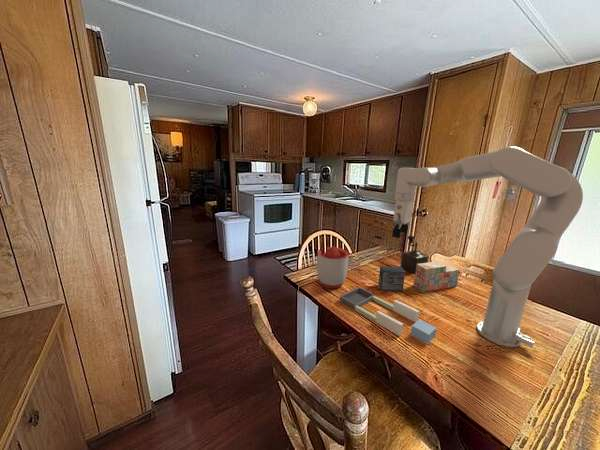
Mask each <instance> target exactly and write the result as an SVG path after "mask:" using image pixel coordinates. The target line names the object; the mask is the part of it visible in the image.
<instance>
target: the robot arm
mask: <svg viewBox="0 0 600 450" xmlns="http://www.w3.org/2000/svg"><path fill="white" fill-rule="evenodd" d="M396 175H397V177H396V186H395V187H396V188H395V194H394V195H395V196H394V200H395V201H396V202H395V207H394V212H393V223H392V225H393V226H392V234H391V237H392V238H397V239H400V238H401V234H408V230H409V223H410V222H411V221H412V213H413V202H414V201H415V200H414V199H415V193H416V192H415V191H416V187H418V188H419V187H421V188H426V187H432V186H438V185H445V184H451V183H458V182H459V183H460V182H461V183H462V182H463V183H464V182H472V181H473V182H474V181H480V180H485V179H493V178H498V177H502V178H503V179H505V180H507V181H508V182H511V183H513V184H515V185H516V186H518V187H520V188H522V189H524V190H526V191H528V192H530V193H532V194H534V195H536V196H537V197H541V198H540V202H539V203H538V205H537V206H536V208H535V210H534V211H533V212H532V215H531V216H530V218H529V219H528V220H527V222H526V223H525V225H524V226H523V227H522V228H521V229H519V231H518V232H517V233H516V234H515V237H514V238H513V239H512V241H511V243H510V244H509V246H508V247H507V248H506V250H505V251H504V252H503V255H502V256H501V257H500V258H499V259H498V260H497V262H496V264H495V266H494V267H493V269H492V276H493V282H492V286H491V290H490V294H489V296H488V301H487V305H486V310H485V313H484V317H483V318H484V319H483V321H479V322H478V323H477V325H476V330H477V332H478V334H480V335H481V336H482V337H483V338H485V339H486V340H488V341H490V342H492V343H493V344H496V345H498V346H502V347H505V348H506V347H507V348H517V347H519V346H521V344H525V345H527V346H528V347H531V348H533V347H534V345H535V341H533V340H531V337H530V336H529V335H526V334H523V333H522V332H521V328H520V325H521V321H522V317H523V314H524V310H525V307H526V304H527V302H528V298H529V294H530V291H531V287H532V284H533V283H534V281H536V279H538V277H539V275H540V274H541V273H542V272H543V270H544V269H546V267H547V266H548V264H549V263H550V261H551V260H552V259H553V258H554V256H555V254H556V253H557V250H558V244H559V241H560V238H562V236H563V235H564V233H565V231H566V230H567V229H568V228H569V226H570V225H571V223H572V222H573V220H574V219H575V217H576V216H577V214H578V213H579V211H580V209H581V207H582V204H583V200H584V199H583V197H584V194H583V193H584V192H583V189H582V186H581V184H580V181H579V180H578V179H577V178H576V177H575V175H574V174H572V173H571V171H569V170H568V169H566V168H564V167H563V166H559V165H556V164H555V163H552V162H551V161H550V162H549V161H548V160H545V159H542V158H541V157H538V156H536V155H534V154H532V153H530V152H528V151H526V150H525V149H523V148H521V147H518V146H505V147H502V148H500V149H498V150H496V151H491V152H485V153H482V154H481V153H480V154H477V155H476V154H475V155H472V156H467V157H463V158H461V159H460V160H458V161H455V162H452V163H447V164H442V165H437V166H433V167H432V166H431V167H418V168H417V167H416V168H415V167H400V168H399V169H398V170H397V174H396Z"/></svg>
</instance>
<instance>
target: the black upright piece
mask: <svg viewBox="0 0 600 450" xmlns="http://www.w3.org/2000/svg"><path fill="white" fill-rule="evenodd" d="M407 239H408V243H407V246H409V247H414V250H409V251H403V252H401V257H400V266H399V267H402V268H403V270H404V271H405V272H409V273H410V274H414V275H415V272H416V266H417V264H420V263H428V262H429V256H428V255H426V254H424V253H423V252H421V250H420V249H419V250H417V247H418V242H415V243H414V240H415V235H408V236H407ZM413 243H414V244H413Z"/></svg>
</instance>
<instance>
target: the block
mask: <svg viewBox="0 0 600 450" xmlns="http://www.w3.org/2000/svg"><path fill="white" fill-rule="evenodd" d="M437 328H438V327H436V326H434V325H433V324H431V323H429V322H427V321H425V320H423V319H421V318H420V319H419V318H418V321H417V322H414V323H413V324H412V325H411V328H410V335H411V336H412V337H414V338H416V339H418V340H419V341H421V342H422V343H424V344H427V345H428V344H429V343H430V342H431V341H433V339H434V338H436V333H437V330H438V329H437Z"/></svg>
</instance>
